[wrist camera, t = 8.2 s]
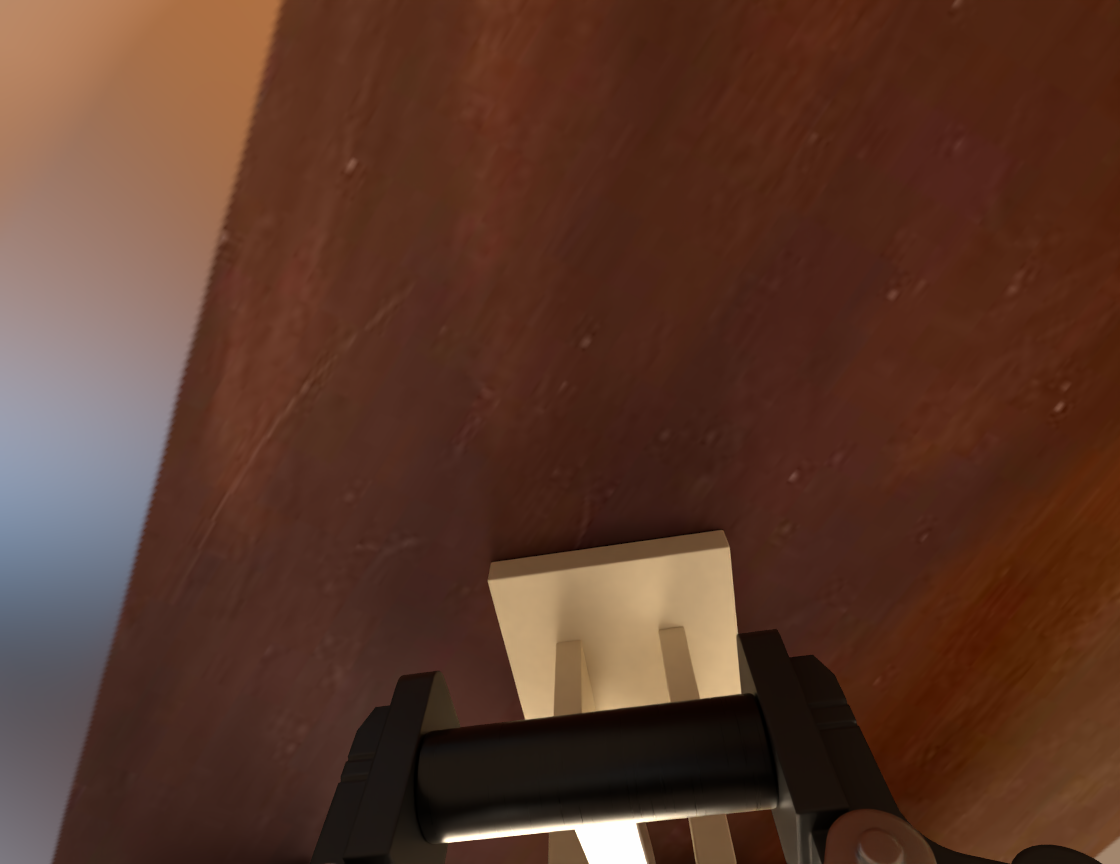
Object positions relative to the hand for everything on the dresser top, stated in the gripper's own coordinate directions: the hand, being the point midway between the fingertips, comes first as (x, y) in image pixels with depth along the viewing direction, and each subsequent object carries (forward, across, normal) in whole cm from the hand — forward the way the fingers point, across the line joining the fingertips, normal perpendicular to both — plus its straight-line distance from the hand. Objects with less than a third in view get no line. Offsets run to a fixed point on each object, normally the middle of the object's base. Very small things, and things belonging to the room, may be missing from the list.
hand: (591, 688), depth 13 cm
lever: (+1, 0, +5) cm, 5 cm away
